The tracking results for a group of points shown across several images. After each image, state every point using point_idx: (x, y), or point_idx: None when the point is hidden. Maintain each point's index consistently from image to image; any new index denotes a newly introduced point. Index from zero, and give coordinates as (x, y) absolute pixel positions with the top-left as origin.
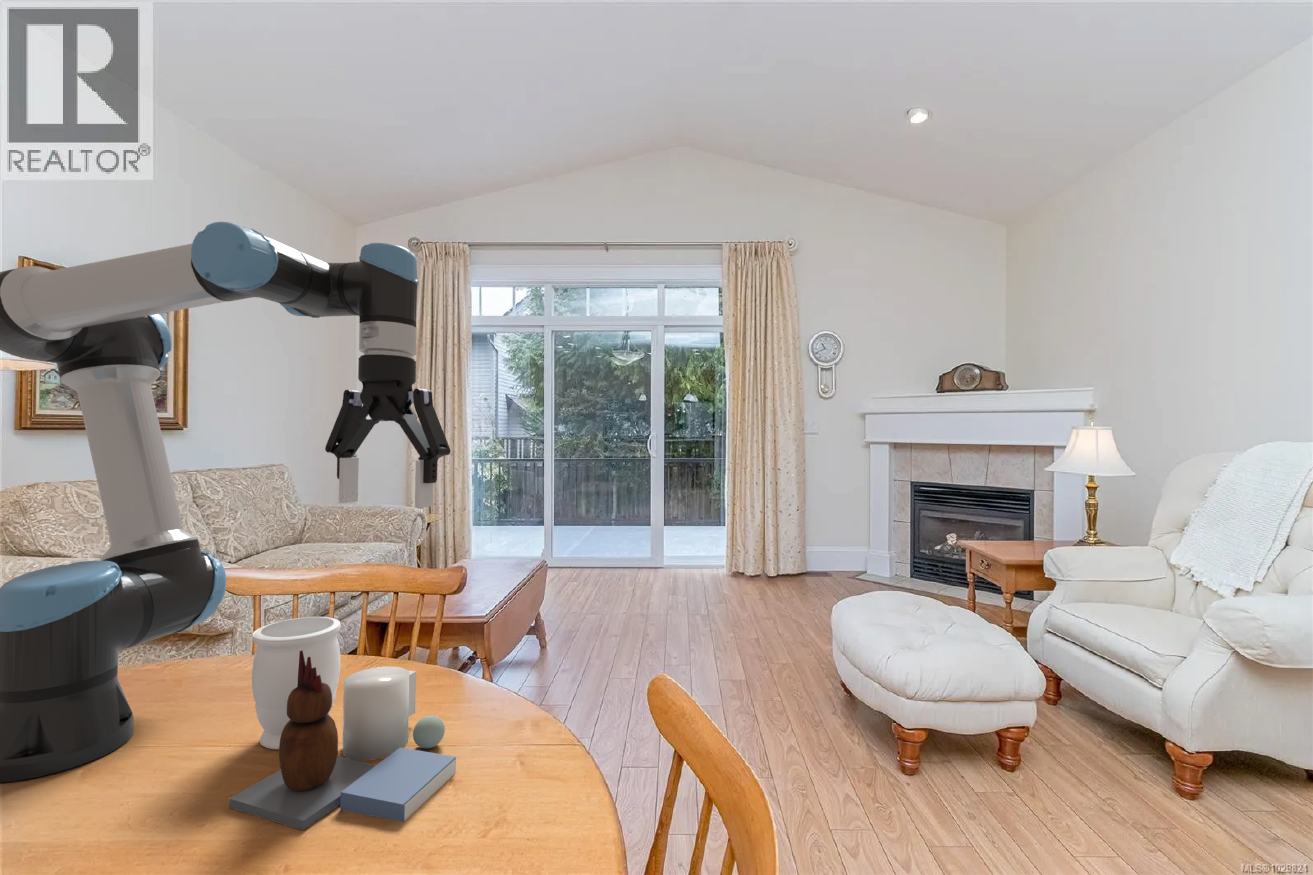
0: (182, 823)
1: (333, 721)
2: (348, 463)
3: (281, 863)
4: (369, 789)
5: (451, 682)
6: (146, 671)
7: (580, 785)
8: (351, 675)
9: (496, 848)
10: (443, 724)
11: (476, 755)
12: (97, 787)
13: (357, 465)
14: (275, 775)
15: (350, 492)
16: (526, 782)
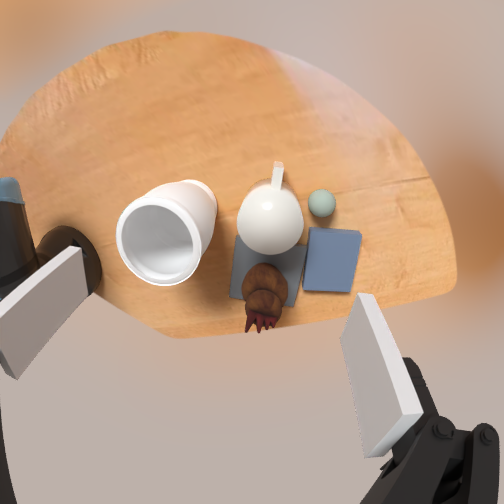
0: (217, 308)
1: (279, 289)
2: (18, 351)
3: (300, 324)
4: (320, 283)
5: (263, 64)
6: (5, 156)
7: (442, 231)
8: (238, 224)
9: (405, 293)
10: (334, 200)
11: (365, 205)
12: (134, 288)
13: (11, 313)
14: (235, 271)
15: (69, 286)
16: (410, 233)
